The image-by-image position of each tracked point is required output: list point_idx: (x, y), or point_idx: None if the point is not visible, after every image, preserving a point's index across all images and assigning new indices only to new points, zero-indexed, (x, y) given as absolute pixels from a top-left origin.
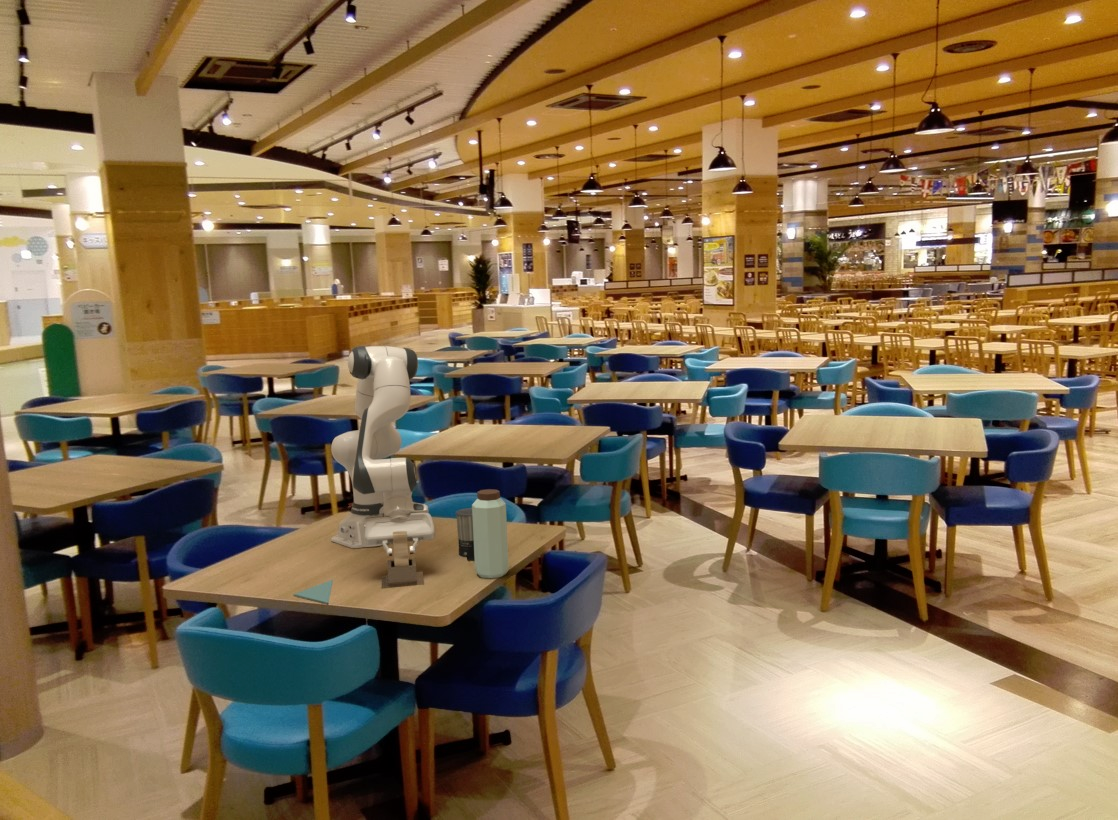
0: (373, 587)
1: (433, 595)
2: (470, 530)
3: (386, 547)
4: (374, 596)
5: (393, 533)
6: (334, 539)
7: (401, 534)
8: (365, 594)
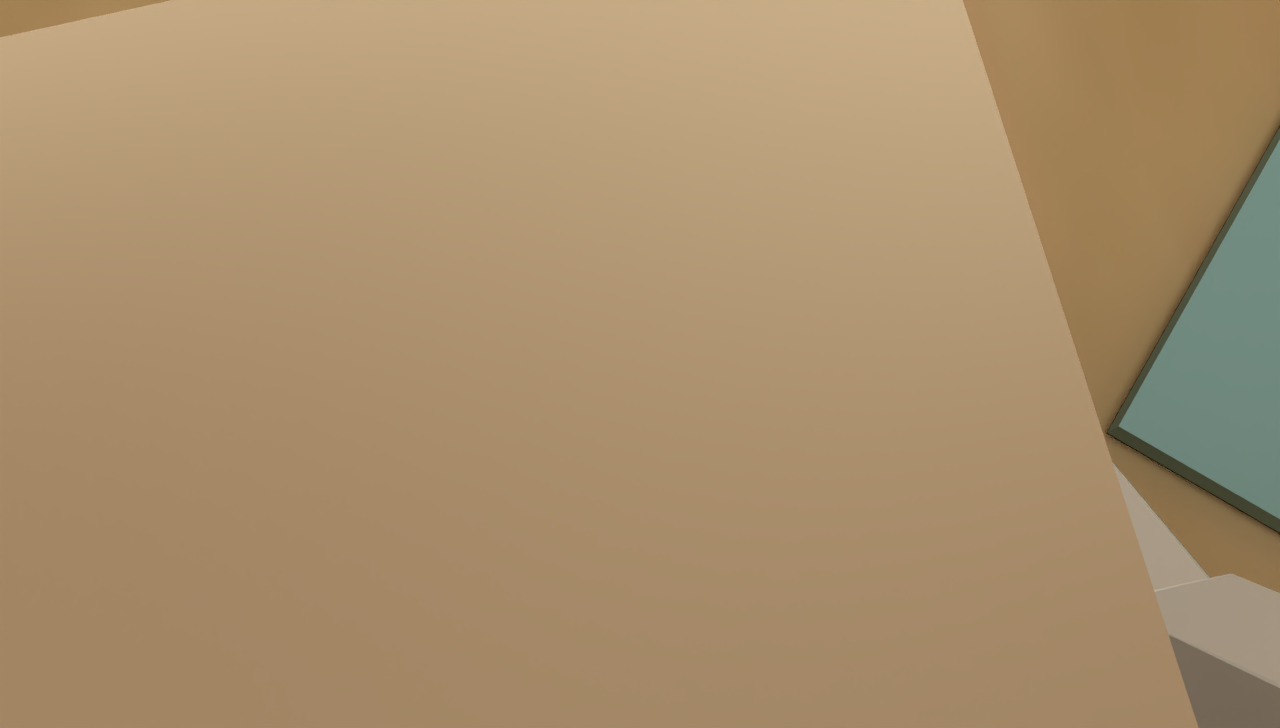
0: (1160, 480)
1: (20, 28)
2: None
3: (1252, 610)
4: (984, 28)
5: (1075, 662)
6: None
7: (3, 154)
8: (1178, 125)
